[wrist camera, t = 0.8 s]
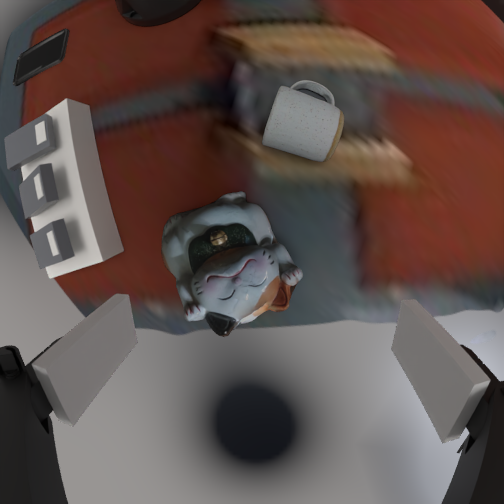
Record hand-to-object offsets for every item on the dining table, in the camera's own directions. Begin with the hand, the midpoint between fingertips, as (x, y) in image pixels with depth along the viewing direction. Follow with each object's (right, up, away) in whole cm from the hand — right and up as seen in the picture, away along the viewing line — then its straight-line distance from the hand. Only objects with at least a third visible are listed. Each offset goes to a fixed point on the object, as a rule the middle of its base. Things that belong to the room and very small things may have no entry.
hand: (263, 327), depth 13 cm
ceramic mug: (+6, +20, +22) cm, 30 cm away
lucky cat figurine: (-3, +4, +26) cm, 27 cm away
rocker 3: (-27, +4, +19) cm, 33 cm away
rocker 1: (-31, +18, +16) cm, 39 cm away
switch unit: (-28, +13, +26) cm, 41 cm away
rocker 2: (-29, +11, +17) cm, 36 cm away
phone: (-41, +41, +21) cm, 62 cm away
